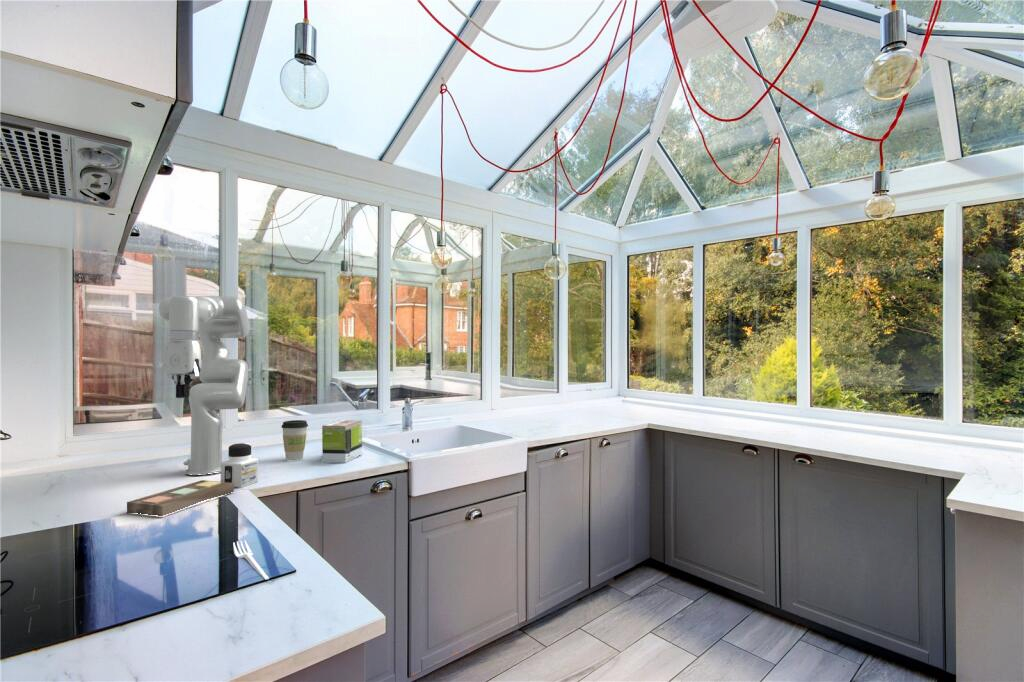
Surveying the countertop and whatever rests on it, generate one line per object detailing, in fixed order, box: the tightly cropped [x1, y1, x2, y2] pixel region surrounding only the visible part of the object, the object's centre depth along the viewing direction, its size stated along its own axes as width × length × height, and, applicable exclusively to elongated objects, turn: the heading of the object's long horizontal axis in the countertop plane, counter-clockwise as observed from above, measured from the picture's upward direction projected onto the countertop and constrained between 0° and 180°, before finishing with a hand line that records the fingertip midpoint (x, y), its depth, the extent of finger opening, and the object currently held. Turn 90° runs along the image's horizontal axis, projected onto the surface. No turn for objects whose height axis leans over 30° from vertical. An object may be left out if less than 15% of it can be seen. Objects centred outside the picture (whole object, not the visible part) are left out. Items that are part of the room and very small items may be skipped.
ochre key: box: [195, 480, 221, 488], centre depth 147 cm, size 5×5×3 cm
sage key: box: [170, 488, 198, 495], centre depth 139 cm, size 5×5×3 cm
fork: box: [232, 539, 270, 581], centre depth 100 cm, size 3×20×2 cm, turn 43°
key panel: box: [126, 479, 235, 516], centre depth 139 cm, size 12×23×3 cm, turn 165°
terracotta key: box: [142, 496, 173, 504], centre depth 131 cm, size 5×5×3 cm
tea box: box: [321, 419, 363, 464], centre depth 196 cm, size 15×10×15 cm, turn 172°
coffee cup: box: [280, 419, 309, 461], centre depth 195 cm, size 10×10×15 cm
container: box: [220, 442, 259, 489], centre depth 158 cm, size 8×8×13 cm
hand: (182, 397), depth 147 cm, fingers closed
